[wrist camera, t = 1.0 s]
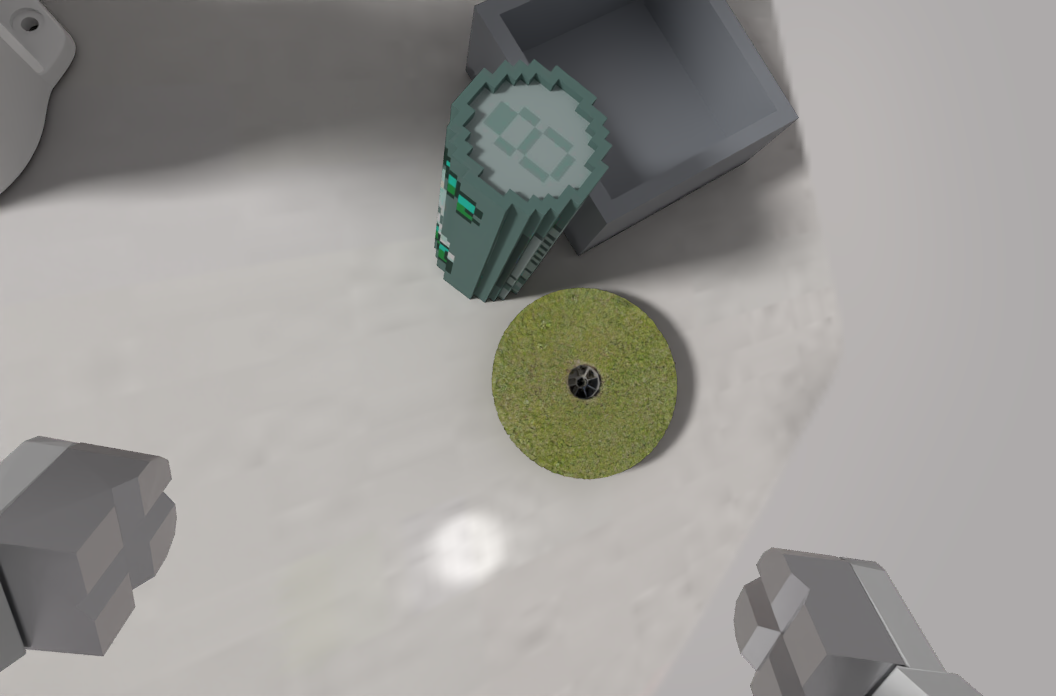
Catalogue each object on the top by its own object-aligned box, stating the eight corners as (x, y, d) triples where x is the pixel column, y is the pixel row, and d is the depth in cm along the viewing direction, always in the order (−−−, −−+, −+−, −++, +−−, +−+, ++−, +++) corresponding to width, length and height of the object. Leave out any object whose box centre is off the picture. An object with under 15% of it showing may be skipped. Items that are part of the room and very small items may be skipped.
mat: (570, 258, 39) (578, 249, 37) (699, 378, 39) (713, 375, 37) (448, 389, 36) (450, 386, 35) (587, 516, 37) (597, 520, 35)
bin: (465, 69, 39) (474, 5, 34) (639, -10, 43) (675, -81, 37) (578, 255, 39) (606, 223, 33) (745, 162, 42) (798, 117, 36)
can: (477, 185, 39) (515, 32, 24) (553, 245, 39) (637, 130, 24) (416, 258, 37) (417, 142, 23) (496, 319, 38) (548, 244, 23)
